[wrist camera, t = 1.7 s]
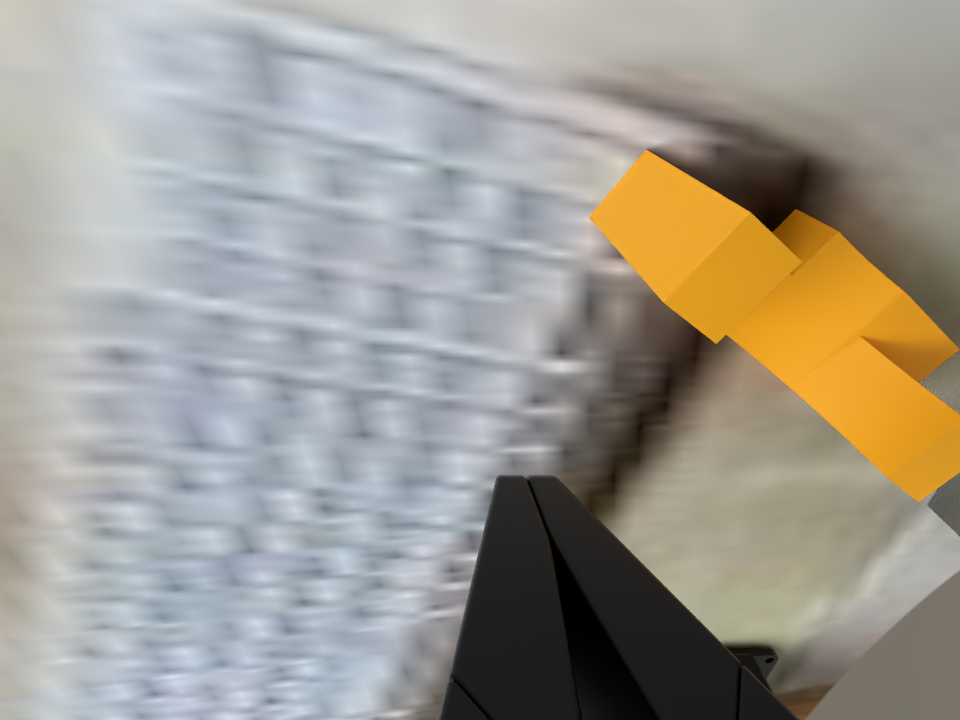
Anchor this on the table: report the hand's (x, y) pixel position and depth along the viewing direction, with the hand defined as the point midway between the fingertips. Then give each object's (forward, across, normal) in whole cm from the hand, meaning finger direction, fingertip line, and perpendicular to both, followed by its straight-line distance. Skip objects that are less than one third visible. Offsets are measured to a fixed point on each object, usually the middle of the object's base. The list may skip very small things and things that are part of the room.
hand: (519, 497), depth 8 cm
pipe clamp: (+12, -10, +1) cm, 16 cm away
